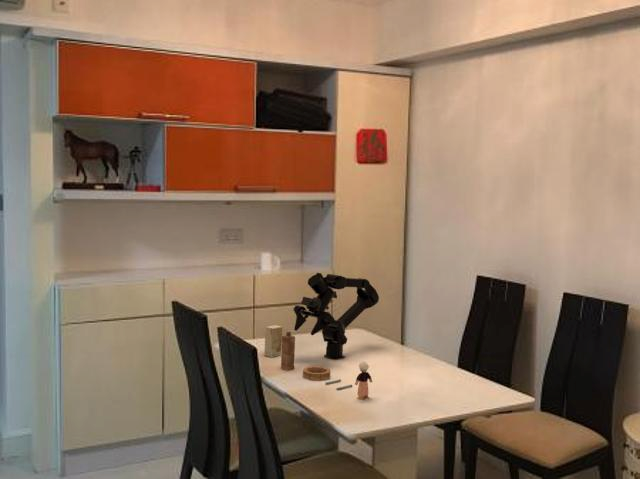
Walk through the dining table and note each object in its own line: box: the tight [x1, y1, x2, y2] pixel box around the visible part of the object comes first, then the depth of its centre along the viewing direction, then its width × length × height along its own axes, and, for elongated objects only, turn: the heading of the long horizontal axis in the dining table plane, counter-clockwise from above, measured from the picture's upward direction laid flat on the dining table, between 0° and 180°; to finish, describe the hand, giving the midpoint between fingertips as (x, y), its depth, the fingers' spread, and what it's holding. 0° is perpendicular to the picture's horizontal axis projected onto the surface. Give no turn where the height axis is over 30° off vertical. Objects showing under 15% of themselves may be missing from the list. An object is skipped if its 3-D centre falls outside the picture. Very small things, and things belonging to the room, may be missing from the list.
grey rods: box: [325, 379, 353, 391], centre depth 252 cm, size 8×8×1 cm
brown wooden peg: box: [280, 331, 296, 372], centre depth 270 cm, size 4×4×15 cm
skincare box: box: [263, 324, 283, 358], centre depth 289 cm, size 6×4×12 cm
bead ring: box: [302, 365, 331, 382], centre depth 262 cm, size 10×10×2 cm
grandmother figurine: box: [354, 361, 373, 401], centre depth 238 cm, size 8×4×13 cm, turn 141°
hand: (303, 332), depth 275 cm, fingers open, 9 cm apart
